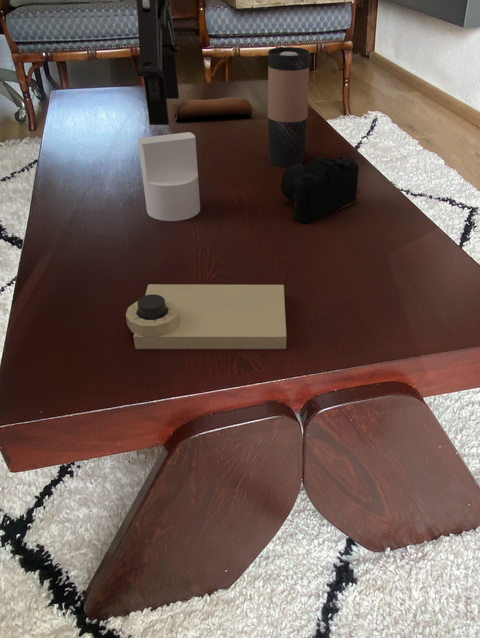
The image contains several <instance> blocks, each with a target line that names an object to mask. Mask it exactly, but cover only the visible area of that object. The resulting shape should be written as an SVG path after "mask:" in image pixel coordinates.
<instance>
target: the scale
mask: <svg viewBox="0 0 480 638" xmlns="http://www.w3.org/2000/svg"><path fill="white" fill-rule="evenodd" d="M151 294H155V295H160V296H162V297H163V298H164V299H165V306H166V315H165V316H164V317H163V318H160V319H156V320H145V319H142V318H141V317H140V316H139V310H138V304H137V302H138V300H137V301H134V303H133V304H131V305H130V306H128V307H127V310H126V313H125V319H126V325H127V327H128V328H129V330H130V332H132V333H133V343H134V348H135V350H286V349H287V321H286V318H287V317H286V302H285V301H286V300H285V299H286V298H285V284H198V283H197V284H190V283H189V284H185V283H183V284H181V283H180V284H179V283H178V284H175V283H174V284H171V283H169V284H168V283H167V284H164V283H163V284H161V283H159V284H155V283H151V284H149V283H148V285H147V288H146V291H145V295H144V296H146V295H151Z"/></svg>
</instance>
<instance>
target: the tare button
mask: <svg viewBox="0 0 480 638" xmlns="http://www.w3.org/2000/svg"><path fill="white" fill-rule="evenodd" d="M137 301H138V302H137ZM137 301H136V302H137V304H138V310H139V316H140V317H141V318H142V319H145V320H156V319H160V318H163V317H164V316H165V315H166V306H165V299H164V298H163V297H162V296H160V295H155V294H151V295H146V296H145V295H143V296H141V297H139V298H138V300H137Z"/></svg>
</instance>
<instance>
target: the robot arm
mask: <svg viewBox="0 0 480 638" xmlns="http://www.w3.org/2000/svg"><path fill="white" fill-rule="evenodd" d="M135 2H136V10H137V31H138V33H137V34H138V51H139V52H138V53H139V55H138V56H139V69H136V73H137V77H139V78H143V83H144V88H145V98H146V104H147V105H146V106H147V116H148V122H149V126H168V125H170V121H169V120H170V119H169V110H168V101H167V100H179V99H180V95H179V84H178V72H177V59H176V53H180V44H177V39H176V35H175V29H174V23H173V15H172V10H171V9H172V8H171V4H170V0H136V1H135Z"/></svg>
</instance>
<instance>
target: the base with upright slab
mask: <svg viewBox="0 0 480 638" xmlns="http://www.w3.org/2000/svg"><path fill="white" fill-rule="evenodd" d="M137 144H138V150H139V159H140V167H141V175H142V183H143V190H144V197H145V208H146V212H147V215H148V216H149V217H150V218H152V219H155V220H158V221H164V222H178V221H179V222H180V221H185V220H189V219H191V218H194V217H196V216H197V215H198V214H199V213H200V211H201V200H200V199H201V197H200V185H199V183H200V182H199V170H198V155H197V141H196V135H195V134H194V133H192V132H189V131H187V132H180V133H171V134H162V135H161V134H160V135H153V136H147V137H146V136H144V137H138V138H137Z"/></svg>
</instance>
